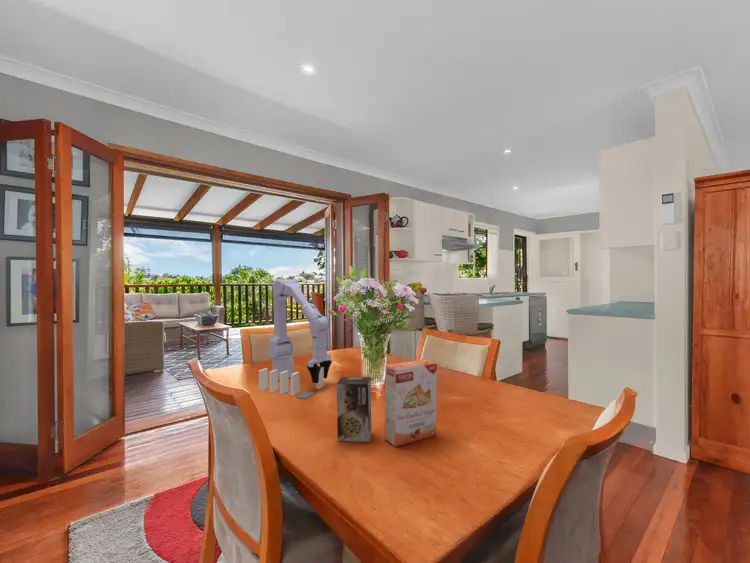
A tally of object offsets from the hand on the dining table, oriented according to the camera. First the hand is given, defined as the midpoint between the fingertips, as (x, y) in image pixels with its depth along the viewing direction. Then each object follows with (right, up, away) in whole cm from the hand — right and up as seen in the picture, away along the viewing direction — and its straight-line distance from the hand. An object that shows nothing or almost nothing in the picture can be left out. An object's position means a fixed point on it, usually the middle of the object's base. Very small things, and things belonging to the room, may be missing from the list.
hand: (319, 380), depth 142 cm
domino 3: (-13, -3, -6) cm, 14 cm away
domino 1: (-22, -3, -2) cm, 23 cm away
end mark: (-4, -3, -9) cm, 10 cm away
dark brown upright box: (+17, -4, -43) cm, 46 cm away
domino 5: (0, -3, 0) cm, 3 cm away
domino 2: (-18, -3, -4) cm, 18 cm away
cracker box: (+32, -4, -44) cm, 55 cm away
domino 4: (-8, -3, -7) cm, 12 cm away
